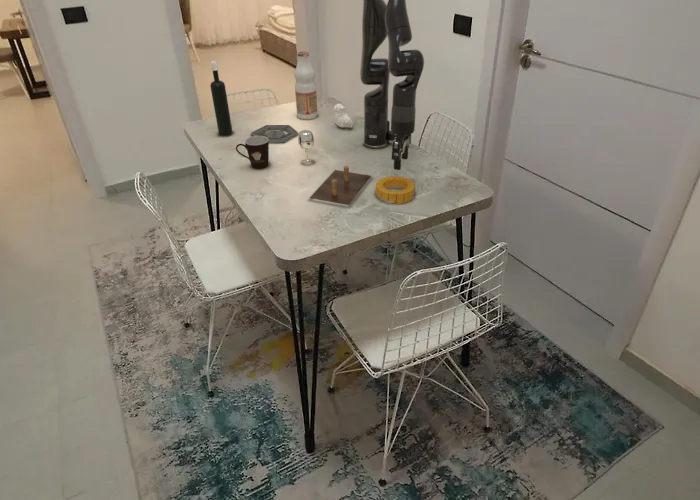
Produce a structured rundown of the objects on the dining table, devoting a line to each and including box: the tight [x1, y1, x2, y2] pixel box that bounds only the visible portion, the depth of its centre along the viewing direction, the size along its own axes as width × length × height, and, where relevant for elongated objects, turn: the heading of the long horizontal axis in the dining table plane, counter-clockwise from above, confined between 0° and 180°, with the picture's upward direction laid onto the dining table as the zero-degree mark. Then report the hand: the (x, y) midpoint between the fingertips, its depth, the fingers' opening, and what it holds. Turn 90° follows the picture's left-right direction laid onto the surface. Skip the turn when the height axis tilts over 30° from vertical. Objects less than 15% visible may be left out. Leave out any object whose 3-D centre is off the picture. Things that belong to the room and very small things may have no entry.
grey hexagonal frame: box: [250, 124, 299, 144], centre depth 208 cm, size 17×20×1 cm
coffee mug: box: [235, 135, 270, 170], centre depth 182 cm, size 12×9×10 cm
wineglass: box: [297, 129, 315, 164], centre depth 182 cm, size 6×6×12 cm
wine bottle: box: [209, 60, 234, 137], centre depth 202 cm, size 6×6×30 cm
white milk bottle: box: [293, 51, 318, 120], centre depth 218 cm, size 9×9×28 cm
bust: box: [333, 103, 354, 129], centre depth 212 cm, size 12×8×11 cm
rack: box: [309, 165, 372, 206], centre depth 167 cm, size 22×14×6 cm, turn 159°
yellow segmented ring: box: [375, 175, 416, 205], centre depth 164 cm, size 13×13×4 cm
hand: (400, 163), depth 164 cm, fingers open, 8 cm apart
